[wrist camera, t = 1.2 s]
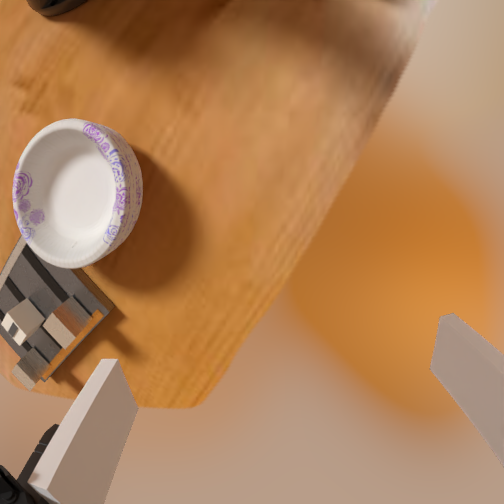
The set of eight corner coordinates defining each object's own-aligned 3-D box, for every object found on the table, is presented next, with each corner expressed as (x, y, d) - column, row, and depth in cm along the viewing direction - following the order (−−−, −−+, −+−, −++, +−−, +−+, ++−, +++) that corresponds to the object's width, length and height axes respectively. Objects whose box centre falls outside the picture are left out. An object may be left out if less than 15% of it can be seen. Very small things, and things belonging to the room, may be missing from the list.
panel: (-11, 307, 36) (-36, 325, 29) (39, 216, 33) (5, 228, 26) (49, 375, 40) (30, 401, 33) (115, 305, 36) (92, 332, 29)
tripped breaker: (20, 309, 34) (0, 324, 29) (27, 297, 33) (6, 313, 28) (37, 329, 35) (18, 346, 30) (45, 318, 34) (25, 336, 29)
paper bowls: (32, 173, 31) (-7, 177, 24) (117, 101, 30) (85, 87, 22) (82, 271, 35) (51, 294, 27) (176, 210, 33) (157, 223, 26)
